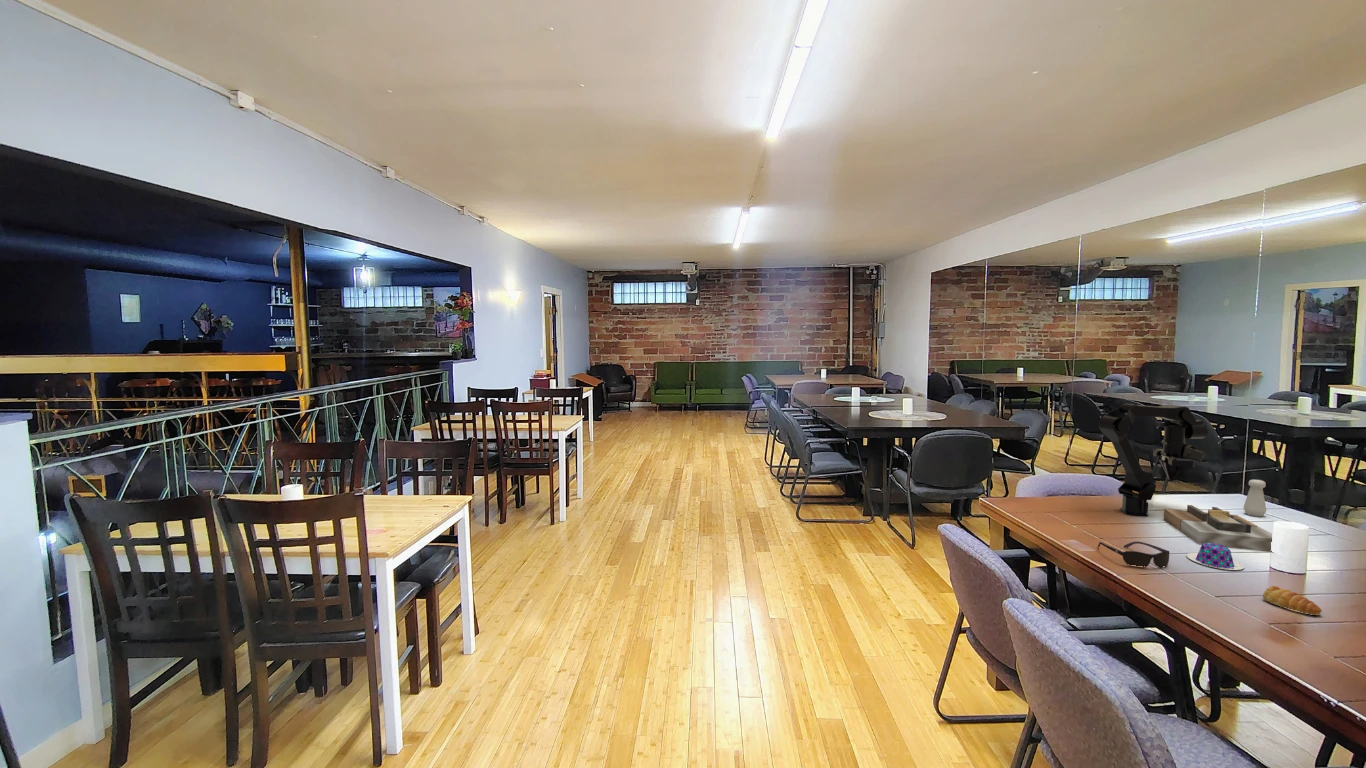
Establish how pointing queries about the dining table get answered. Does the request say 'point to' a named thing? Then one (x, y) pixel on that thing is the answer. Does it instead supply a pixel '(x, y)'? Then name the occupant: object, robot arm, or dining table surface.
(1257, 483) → the salt shaker
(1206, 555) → the purple patterned hat
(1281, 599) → the pastry
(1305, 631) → the dining table surface
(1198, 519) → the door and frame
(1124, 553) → the sunglasses
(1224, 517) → the bolt
